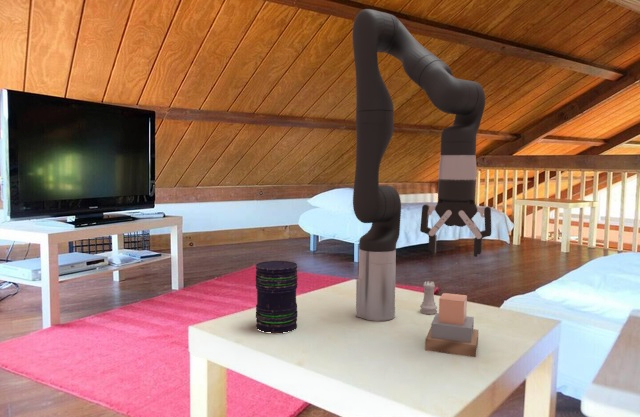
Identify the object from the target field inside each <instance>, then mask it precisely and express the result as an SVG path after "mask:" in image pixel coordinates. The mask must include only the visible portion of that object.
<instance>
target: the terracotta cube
mask: <svg viewBox="0 0 640 417" xmlns="http://www.w3.org/2000/svg"><path fill="white" fill-rule="evenodd" d="M467 307H468V294H467V295H465V294H456V293H449V292H448V293H446V292H443V293H442V294H441V296H440V297H439V299H438V313H439V322H443V323H451V324H459V325H464V323H465V320H466V316H468V315H467V311H468V310H467Z"/></svg>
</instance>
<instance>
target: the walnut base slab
mask: <svg viewBox="0 0 640 417" xmlns="http://www.w3.org/2000/svg"><path fill="white" fill-rule="evenodd" d="M424 344H425V345H424V350H425V351H428V352H437V353H442V354H450V355H457V356H464V357H470V358H471V357H472V358H473V357H474V358H476V357H477V351H478V344H479V329H477V328H476V329H474V328H473V335H472V340H471V343H468V342H460V341H452V340H444V339H436V338H431V327H430V328H429V330H428V332H427V335H426V337H425V341H424Z"/></svg>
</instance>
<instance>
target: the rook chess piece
mask: <svg viewBox="0 0 640 417" xmlns="http://www.w3.org/2000/svg"><path fill="white" fill-rule="evenodd" d="M422 287H423V289H424V290H423V300H422V302H421V304H420V309H419V311H420V313H421V314H424V315H436V313H438V310H437V309H438V305H436V302H435V294H434V293H435V290H434V289H435V288H436V285H435V281H429V280H427V281H424V282H423V285H422Z"/></svg>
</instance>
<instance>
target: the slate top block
mask: <svg viewBox="0 0 640 417" xmlns="http://www.w3.org/2000/svg"><path fill="white" fill-rule="evenodd" d="M474 319H475V318H474V316H468V315H466V320H465V323H464V325H459V324H451V323H443V322H439V312H436V314H434V317H433V319H432V321H431V323H430V325H431V326H430V328H431V338H436V339H444V340H452V341H460V342H468V343H471V340H472V335H473V329H474Z"/></svg>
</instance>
